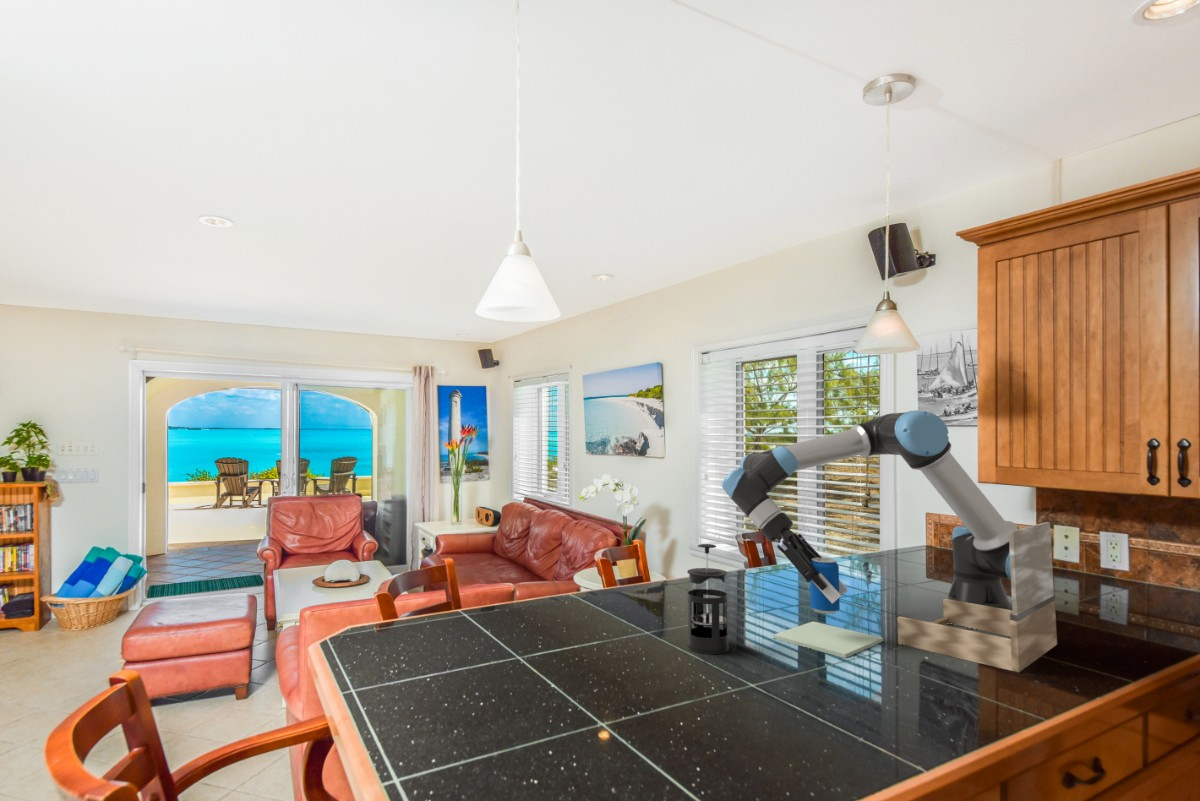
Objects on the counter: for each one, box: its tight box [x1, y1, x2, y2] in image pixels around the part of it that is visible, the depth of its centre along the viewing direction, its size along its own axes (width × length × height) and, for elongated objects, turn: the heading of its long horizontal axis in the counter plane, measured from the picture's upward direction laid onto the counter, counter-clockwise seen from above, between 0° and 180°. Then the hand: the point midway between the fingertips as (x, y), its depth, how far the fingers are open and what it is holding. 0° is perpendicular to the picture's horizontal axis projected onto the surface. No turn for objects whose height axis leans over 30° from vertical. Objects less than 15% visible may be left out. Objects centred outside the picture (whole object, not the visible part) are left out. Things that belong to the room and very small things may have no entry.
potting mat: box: [772, 621, 884, 659], centre depth 145 cm, size 18×18×1 cm
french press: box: [686, 543, 730, 655], centre depth 141 cm, size 12×9×23 cm
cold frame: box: [896, 521, 1058, 673], centre depth 144 cm, size 24×28×28 cm
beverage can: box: [809, 557, 840, 615], centre depth 146 cm, size 6×6×12 cm
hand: (840, 596), depth 144 cm, fingers closed on beverage can, 6 cm apart
